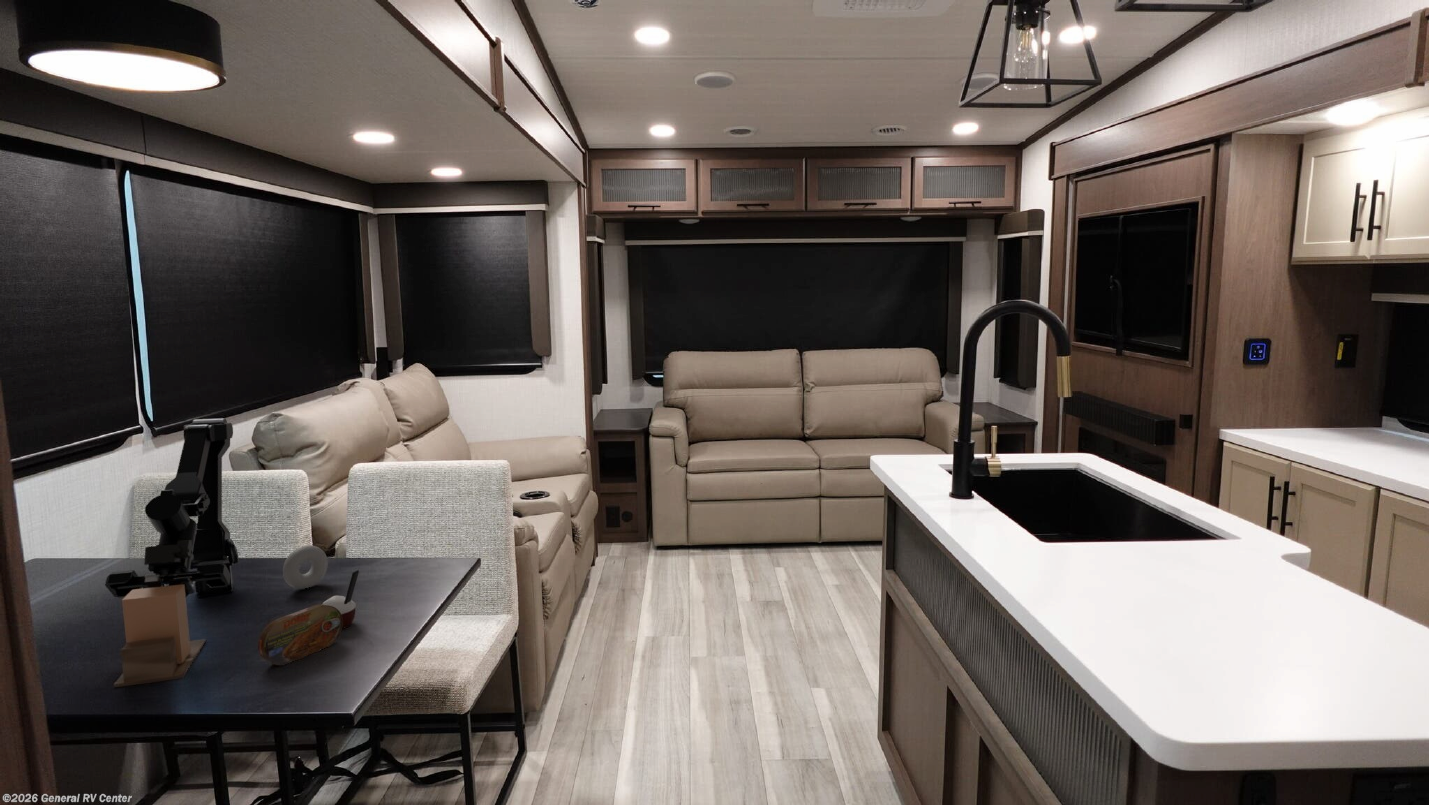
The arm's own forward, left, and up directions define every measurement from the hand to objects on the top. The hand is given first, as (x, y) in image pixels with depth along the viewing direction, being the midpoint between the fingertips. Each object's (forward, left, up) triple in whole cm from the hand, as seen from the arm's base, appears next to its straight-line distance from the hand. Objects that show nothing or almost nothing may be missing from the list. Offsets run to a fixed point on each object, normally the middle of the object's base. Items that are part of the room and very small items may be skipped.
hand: (162, 622), depth 141 cm
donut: (-24, -26, -7) cm, 36 cm away
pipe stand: (0, +2, -7) cm, 7 cm away
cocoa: (-29, 0, -7) cm, 30 cm away
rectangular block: (0, +3, -7) cm, 8 cm away
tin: (-22, +10, -7) cm, 25 cm away
